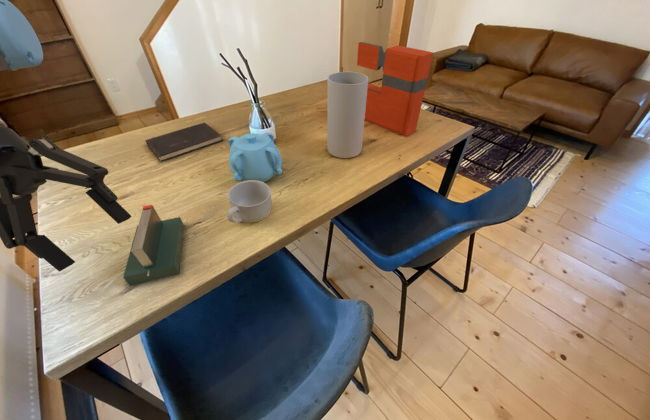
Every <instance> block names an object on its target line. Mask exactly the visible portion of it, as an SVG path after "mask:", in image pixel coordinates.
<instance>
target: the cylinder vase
mask: <svg viewBox="0 0 650 420" xmlns="http://www.w3.org/2000/svg"><path fill="white" fill-rule="evenodd" d="M368 84H369V77H368V75H367V74H364V73H361V72H356V71H338V72H337V71H336V72H334V73H331V74H329V75H328V76H327V83H326V85H327V86H326V87H327V90H326V91H327V95H326V96H327V105H326V106H327V107H326V108H327V109H326V111H327V124H326V125H327V129H326V130H327V131H326V132H327V137H326V138H327V143H326V144H327V147H326V148H327V151H328V153H329V155H332V157H333V156H334V157H335V158H339V159H352V158H354V157H357V156H359V155H360V154H361V152H362V150H363V141H364V130H365V121H366V120H365V110H366V99H367V89H368Z"/></svg>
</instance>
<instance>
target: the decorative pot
mask: <svg viewBox="0 0 650 420" xmlns="http://www.w3.org/2000/svg"><path fill="white" fill-rule="evenodd" d="M228 145H229V148H230V150H229V154H228V166H229V170H230V172H231V173H233V177H232V178H233V180H234V181H236V182H241V181H247V180H257V181H261V182H264V183H266V182H268V181H270V180H271V179H272V178H274V177H276V176H280V175H282V173H283V169H282V166H283V158H282V156H281V152H280V151H279V149H278V147H277V146H276V144H275V137H274V135H273V134H272V133H271V132H264V133H262V134H260V133H255V132H253V133H252V132H251V133H245V134H243V135H241V136H239V137H238V136H236V135H235V136H234V135H233V136H231V137H230V138H229V139H228Z"/></svg>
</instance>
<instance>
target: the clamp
mask: <svg viewBox="0 0 650 420" xmlns="http://www.w3.org/2000/svg"><path fill="white" fill-rule="evenodd" d="M357 45H358V46H357V59H356V66H359V67H360V68H361V67H362V68H366V69H369V70H373V71H379V70H381V68H382V80H381V86H378V85H376V84H372V83H368V89H367V99H366V110H365V120H364V121H367V122H369V123H371V124H375V125H377V126H380V127H381V128H384V129H386V130H389V131H391V132H394V133H397V134H399V135H401V136H404V137H408V136H410V135H412V134H413V133H415V132H416V130H417V126H418V121H419V118H420V113H421V109H422V104H423V100H424V97H425V96H424V95H425V91H426V88H427V83H428V78H429V75H430V71H431V65H432V61H433V58H434V52H433V51H429V50H422V49H418V48H413V47H408V46H404V45H394V46H390V47H387V48H385V51H384V48H383V46H382V45H378V44H373V43H368V42H364V41H360V42H358V43H357Z"/></svg>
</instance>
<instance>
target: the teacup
mask: <svg viewBox="0 0 650 420" xmlns="http://www.w3.org/2000/svg"><path fill="white" fill-rule="evenodd" d="M227 199H228V201H229V204H230V208H229V209H228V211H227V214H226V218H227V221H229V222H230V223H232V224H237V223H257V222H260V221H262V220H264V219H265V218H267V217H268V216H269V215H270V213H271V211H272V206H273V205H272V189H271V187H270V186H269V185H268V183H266V182H261V181H257V180H247V181H244V180H242V181H239V182H237V183H235V184H234V185H232V186H231V187H230V188H229V190H228V192H227ZM234 217H235V218H234Z"/></svg>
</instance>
